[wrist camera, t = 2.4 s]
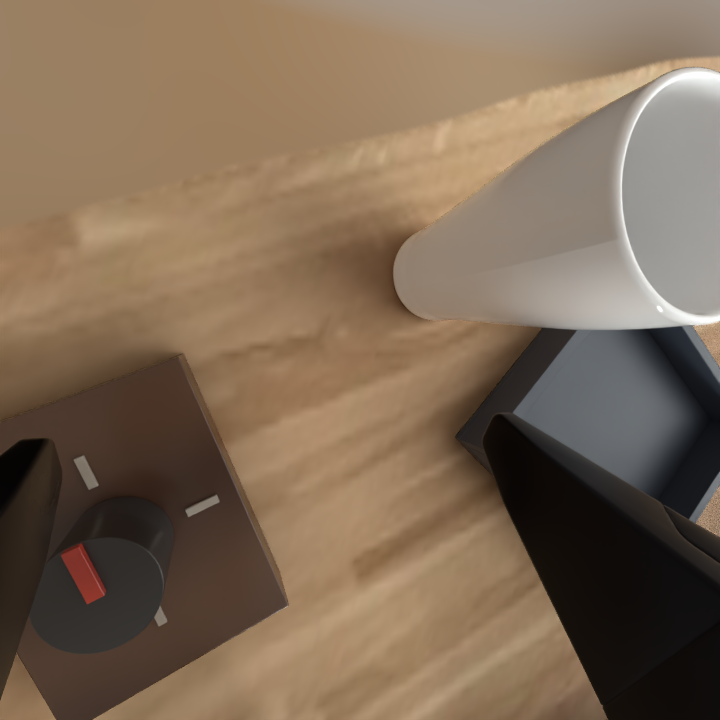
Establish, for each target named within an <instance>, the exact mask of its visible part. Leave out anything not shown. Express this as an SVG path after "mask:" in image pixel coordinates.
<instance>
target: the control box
mask: <svg viewBox="0 0 720 720" xmlns="http://www.w3.org/2000/svg"><path fill="white" fill-rule="evenodd" d="M36 437H49V438H51V439H52V440H53V442H54V444H55V447H56V451H57V454H58V457H59V461H60V464H61V467H62V484H61V489H60V494H59V499H58V504H57V509H56V514H55V519H54V524H53V529H52V534H51V539H50V544H49V549H48V553H47V558H46V562H47V561H48V559H49V558H50V557H51V555H52V554H53V553H54V551H55V550H56V549H57V547H58V546H59V545H60V543H61V542H62V541H63V539H64V538H65V537H66V535H67V534H68V533H69V531H70V530H71V529H72V527H73V526H74V525H75V523H76V522H77V521H78V520H79V518H80V517H81V516H82V515H83V514H84V513H86V512H87V511H88V510H89V509H91V508H92V507H94V506H95V505H97V504H99V503H101V502H104V501H107V500H110V499H114V498H119V497H137V498H141V499H145V500H148V501H150V502H152V503H154V504H156V505H157V506H159V507H160V508H161V509H162V510H163V511H164V512H165V513H166V514H167V516H168V517H169V519H170V521H171V523H172V526H173V530H174V545H173V550H172V555H171V560H170V565H169V570H168V575H167V580H166V585H165V590H164V595H163V599H162V602H161V605H160V608H159V609H158V611H157V613H156V615H155V617H154V618H153V619H152V621H151V622H150V623H149V625H148V626H147V627H146V628H145V629H144V630H143V631H142V632H141V633H140V634H138V635H137V636H136V637H134V638H133V639H132V640H130V641H128V642H127V643H125V644H123V645H121V646H119V647H117V648H114V649H112V650H109V651H105V652H101V653H95V654H72V653H68V652H64V651H61V650H58V649H56V648H54V647H52V646H50V645H49V644H47V643H46V642H45V641H43V640H42V639H41V638H40V637H39V636H38V634H37V633H36V631H35V630H34V628H33V626H32V624H31V622H30V618H29V616H28V619H27V622H26V625H25V628H24V631H23V634H22V637H21V640H20V643H19V646H18V649H17V654H18V656H19V657H20V659H21V661H22V662H23V664H24V666H25V667H26V669H27V671H28V672H29V674H30V676H31V678H32V679H33V681H34V683H35V684H36V686H37V688H38V689H39V691H40V693H41V695H42V696H43V698H44V700H45V701H46V703H47V705H48V706H49V708H50V710H51V711H52V713H53V715H54V717H55V718H56V720H92V719H94V718H96V717H97V716H99V715H101V714H103V713H104V712H106V711H108V710H109V709H111V708H113V707H115V706H116V705H118V704H120V703H122V702H123V701H125V700H127V699H128V698H130V697H132V696H134V695H135V694H137V693H139V692H140V691H142V690H144V689H146V688H147V687H149V686H151V685H153V684H154V683H156V682H158V681H159V680H161V679H163V678H165V677H166V676H168V675H170V674H172V673H173V672H175V671H177V670H178V669H180V668H182V667H184V666H185V665H187V664H189V663H190V662H192V661H194V660H196V659H197V658H199V657H201V656H203V655H204V654H206V653H208V652H209V651H211V650H213V649H215V648H216V647H218V646H220V645H221V644H223V643H225V642H227V641H228V640H230V639H232V638H234V637H235V636H237V635H239V634H240V633H242V632H244V631H246V630H247V629H249V628H251V627H252V626H254V625H256V624H258V623H259V622H261V621H263V620H265V619H266V618H268V617H270V616H271V615H273V614H275V613H277V612H278V611H280V610H282V609H284V608H285V607H287V606H288V605H289V603H288V600H287V596H286V592H285V589H284V585H283V581H282V578H281V574H280V571H279V569H278V567H277V564H276V562H275V560H274V557H273V555H272V553H271V551H270V548H269V546H268V544H267V542H266V539H265V537H264V535H263V532H262V530H261V528H260V526H259V523H258V521H257V519H256V517H255V514H254V512H253V510H252V507H251V505H250V503H249V501H248V498H247V496H246V494H245V492H244V489H243V487H242V485H241V482H240V480H239V478H238V476H237V473H236V471H235V469H234V467H233V464H232V462H231V460H230V457H229V455H228V453H227V451H226V448H225V446H224V444H223V442H222V439H221V437H220V435H219V432H218V430H217V428H216V426H215V423H214V421H213V419H212V417H211V414H210V412H209V410H208V407H207V405H206V403H205V401H204V398H203V396H202V394H201V392H200V389H199V387H198V385H197V383H196V380H195V378H194V376H193V373H192V371H191V369H190V367H189V364H188V362H187V360H186V358H185V355H184V354H181V355H178V356H176V357H173V358H170V359H167V360H165V361H162V362H159V363H157V364H154V365H151V366H148V367H146V368H143V369H140V370H137V371H135V372H132V373H129V374H127V375H124V376H121V377H118V378H116V379H113V380H110V381H108V382H105V383H102V384H99V385H97V386H94V387H91V388H89V389H86V390H83V391H80V392H78V393H75V394H72V395H70V396H67V397H64V398H61V399H59V400H56V401H53V402H51V403H48V404H45V405H42V406H40V407H37V408H34V409H32V410H29V411H26V412H23V413H21V414H18V415H15V416H13V417H10V418H7V419H4V420H2V421H0V455H1V454H2V453H3V452H5V451H6V450H7V449H8V448H10V447H11V446H12V445H13V444H15V443H16V442H17V441H19V440H21V439H24V438H36ZM46 562H45V563H46Z"/></svg>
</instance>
